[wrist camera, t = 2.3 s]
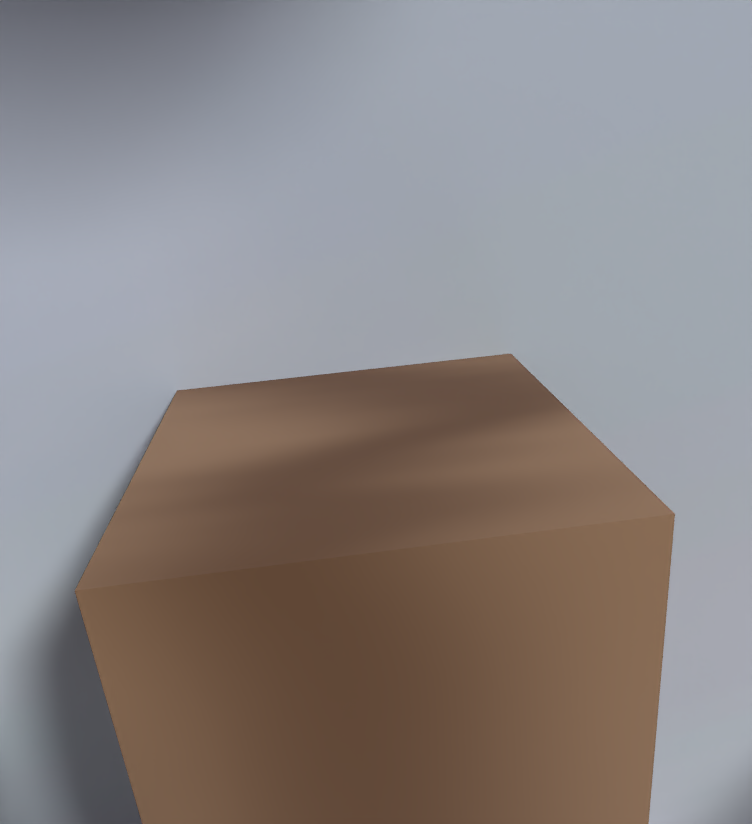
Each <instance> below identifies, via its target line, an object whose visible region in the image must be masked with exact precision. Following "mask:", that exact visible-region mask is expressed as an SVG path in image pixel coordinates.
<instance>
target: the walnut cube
mask: <svg viewBox="0 0 752 824" xmlns="http://www.w3.org/2000/svg"><path fill="white" fill-rule="evenodd" d="M674 518H675V514H674V513H673V512H672V511H671V510H670V509H669V508H668V507H667V506H666V505H665V504H664V503H663V502H662V501H661V500H660V499H659V498H658V497H657V496H656V495H655V494H654V493H653V492H652V491H651V490H650V489H649V488H648V487H647V486H646V485H645V484H644V483H643V482H642V481H641V480H640V479H639V478H638V477H637V476H635V475H634V474H633V473H632V472H631V471H630V470H629V469H628V468H627V467H626V466H625V465H624V464H623V463H622V462H621V461H620V460H619V459H618V458H617V457H616V456H615V455H614V454H613V453H612V452H611V451H610V450H609V449H608V448H607V447H606V446H605V445H604V444H603V443H602V442H601V441H600V440H599V439H598V438H597V437H596V436H595V435H594V434H593V433H592V432H590V431H589V430H588V429H587V428H586V427H585V426H584V425H583V424H582V423H581V422H580V421H579V420H578V419H577V418H576V417H575V416H574V415H573V414H572V413H571V412H570V411H569V410H568V409H567V408H566V407H565V406H564V405H563V404H562V403H561V402H560V401H559V400H558V399H557V398H556V397H555V396H554V395H553V394H552V393H551V392H550V391H549V390H548V389H547V388H546V387H544V386H543V385H542V384H541V383H540V382H539V381H538V380H537V379H536V378H535V377H534V376H533V375H532V374H531V373H530V372H529V371H528V370H527V369H526V368H525V367H524V366H523V365H522V364H521V363H520V362H519V361H518V360H517V359H516V358H515V357H514V356H513V355H512V354H503V355H494V356H485V357H476V358H467V359H458V360H449V361H440V362H431V363H422V364H413V365H404V366H395V367H386V368H377V369H368V370H359V371H350V372H341V373H332V374H323V375H314V376H305V377H296V378H287V379H278V380H269V381H260V382H251V383H242V384H233V385H224V386H215V387H206V388H197V389H188V390H179V391H177V392H176V394H175V396H174V398H173V400H172V401H171V403H170V405H169V407H168V409H167V411H166V413H165V415H164V417H163V419H162V421H161V423H160V425H159V427H158V429H157V431H156V433H155V435H154V437H153V439H152V441H151V443H150V444H149V446H148V448H147V450H146V452H145V454H144V456H143V458H142V460H141V462H140V464H139V466H138V468H137V470H136V472H135V474H134V476H133V478H132V480H131V482H130V484H129V486H128V487H127V489H126V491H125V493H124V495H123V497H122V499H121V501H120V503H119V505H118V507H117V509H116V511H115V513H114V515H113V517H112V519H111V521H110V523H109V525H108V527H107V529H106V530H105V532H104V534H103V536H102V538H101V540H100V542H99V544H98V546H97V548H96V550H95V552H94V554H93V556H92V558H91V560H90V562H89V564H88V566H87V568H86V570H85V572H84V573H83V575H82V577H81V579H80V581H79V583H78V585H77V587H76V589H75V594H76V597H77V601H78V604H79V607H80V611H81V614H82V618H83V621H84V625H85V628H86V632H87V635H88V638H89V642H90V645H91V649H92V652H93V656H94V659H95V663H96V666H97V670H98V673H99V676H100V680H101V683H102V687H103V690H104V694H105V697H106V701H107V704H108V707H109V711H110V714H111V718H112V721H113V725H114V728H115V732H116V735H117V738H118V742H119V745H120V749H121V752H122V756H123V759H124V763H125V766H126V769H127V773H128V776H129V780H130V783H131V787H132V790H133V794H134V797H135V800H136V804H137V807H138V811H139V814H140V818H141V821H142V824H648V822H649V810H650V798H651V787H652V775H653V763H654V751H655V740H656V728H657V716H658V705H659V693H660V681H661V670H662V658H663V646H664V635H665V623H666V611H667V600H668V588H669V576H670V565H671V553H672V541H673V530H674Z"/></svg>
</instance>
